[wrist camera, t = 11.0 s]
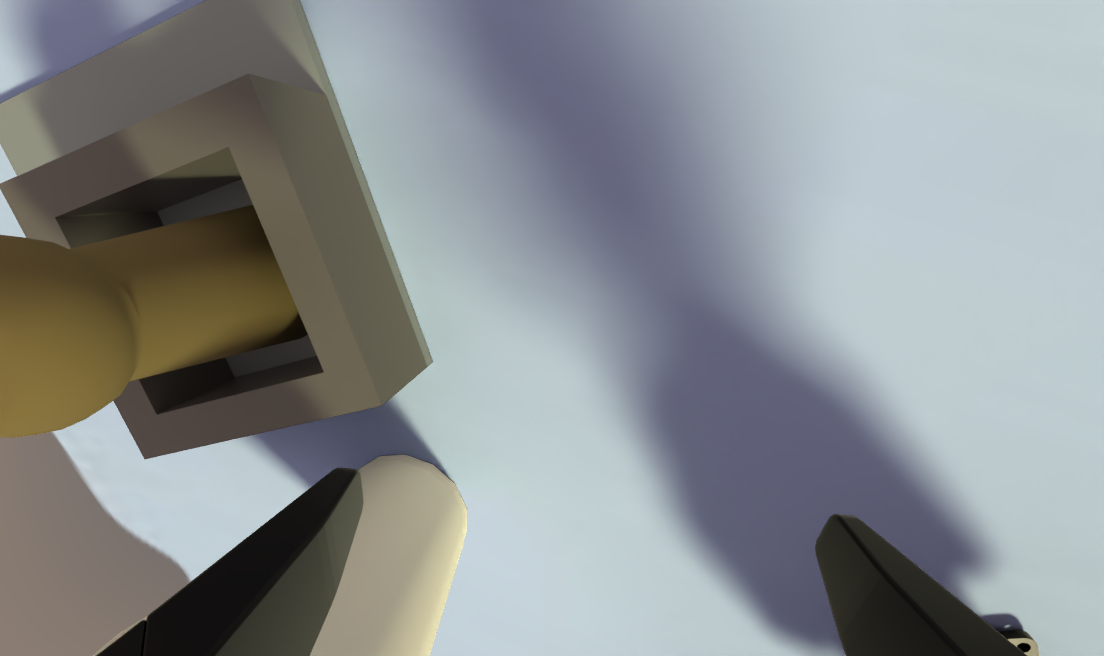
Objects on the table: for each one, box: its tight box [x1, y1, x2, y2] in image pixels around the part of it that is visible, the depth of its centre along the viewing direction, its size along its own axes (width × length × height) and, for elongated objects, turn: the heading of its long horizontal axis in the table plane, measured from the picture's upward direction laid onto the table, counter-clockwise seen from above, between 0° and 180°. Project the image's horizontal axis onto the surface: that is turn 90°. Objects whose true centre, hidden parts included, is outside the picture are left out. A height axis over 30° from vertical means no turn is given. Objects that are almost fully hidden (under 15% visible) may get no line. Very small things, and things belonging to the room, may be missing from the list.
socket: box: [0, 0, 433, 459], centre depth 20 cm, size 16×16×5 cm
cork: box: [0, 205, 308, 438], centre depth 16 cm, size 6×6×11 cm
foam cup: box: [93, 455, 467, 656], centre depth 19 cm, size 10×9×13 cm
